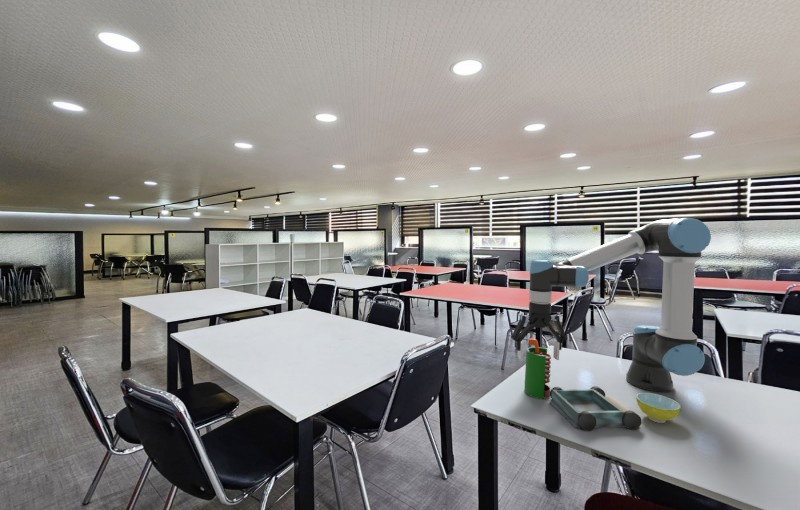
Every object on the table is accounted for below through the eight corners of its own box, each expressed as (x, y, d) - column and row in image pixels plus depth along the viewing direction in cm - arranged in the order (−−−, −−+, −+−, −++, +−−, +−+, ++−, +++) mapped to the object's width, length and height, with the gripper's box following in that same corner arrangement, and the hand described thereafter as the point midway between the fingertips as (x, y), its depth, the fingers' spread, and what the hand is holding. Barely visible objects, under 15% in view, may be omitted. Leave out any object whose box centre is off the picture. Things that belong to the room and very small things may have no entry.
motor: (553, 400, 123) (555, 344, 122) (526, 397, 125) (528, 343, 124) (547, 387, 133) (548, 336, 132) (522, 385, 135) (524, 335, 134)
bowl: (689, 427, 106) (690, 408, 106) (657, 430, 104) (658, 410, 104) (656, 409, 117) (657, 391, 117) (626, 411, 115) (627, 393, 115)
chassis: (602, 399, 124) (603, 386, 124) (642, 429, 105) (643, 413, 105) (548, 400, 123) (548, 386, 123) (578, 430, 104) (578, 414, 104)
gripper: (567, 300, 132) (565, 354, 133) (503, 300, 130) (501, 355, 132) (578, 304, 124) (576, 362, 125) (510, 304, 123) (508, 362, 124)
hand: (538, 358), depth 129 cm, fingers open, 13 cm apart
